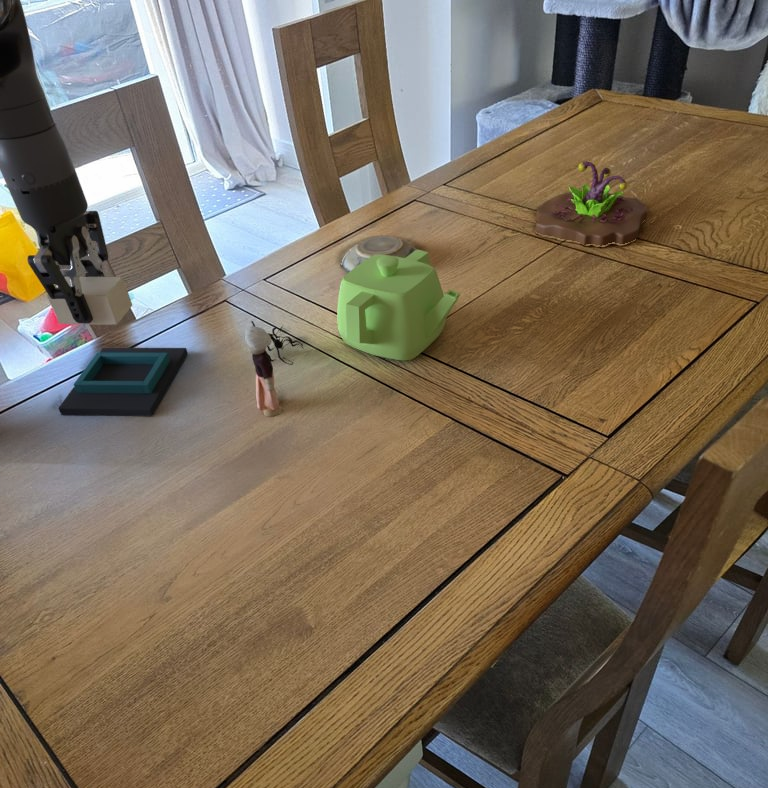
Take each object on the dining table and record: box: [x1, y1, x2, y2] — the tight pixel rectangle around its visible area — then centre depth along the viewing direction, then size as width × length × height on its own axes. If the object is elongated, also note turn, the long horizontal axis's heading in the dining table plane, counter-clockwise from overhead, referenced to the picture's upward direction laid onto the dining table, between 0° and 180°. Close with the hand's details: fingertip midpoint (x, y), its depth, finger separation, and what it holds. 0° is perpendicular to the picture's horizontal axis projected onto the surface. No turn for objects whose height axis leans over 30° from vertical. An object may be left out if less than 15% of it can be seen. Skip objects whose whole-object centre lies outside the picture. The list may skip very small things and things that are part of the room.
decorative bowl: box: [340, 234, 417, 273], centre depth 125 cm, size 15×4×15 cm
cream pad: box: [46, 276, 133, 326], centre depth 89 cm, size 8×5×4 cm, turn 82°
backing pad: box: [57, 347, 189, 417], centre depth 104 cm, size 14×16×3 cm
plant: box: [534, 160, 649, 246], centre depth 128 cm, size 20×20×11 cm
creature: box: [250, 320, 304, 366], centre depth 106 cm, size 8×5×8 cm
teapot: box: [336, 249, 461, 361], centre depth 102 cm, size 18×20×13 cm
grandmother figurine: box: [244, 325, 284, 418], centre depth 93 cm, size 8×4×13 cm, turn 27°
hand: (94, 310), depth 90 cm, fingers closed on cream pad, 5 cm apart
